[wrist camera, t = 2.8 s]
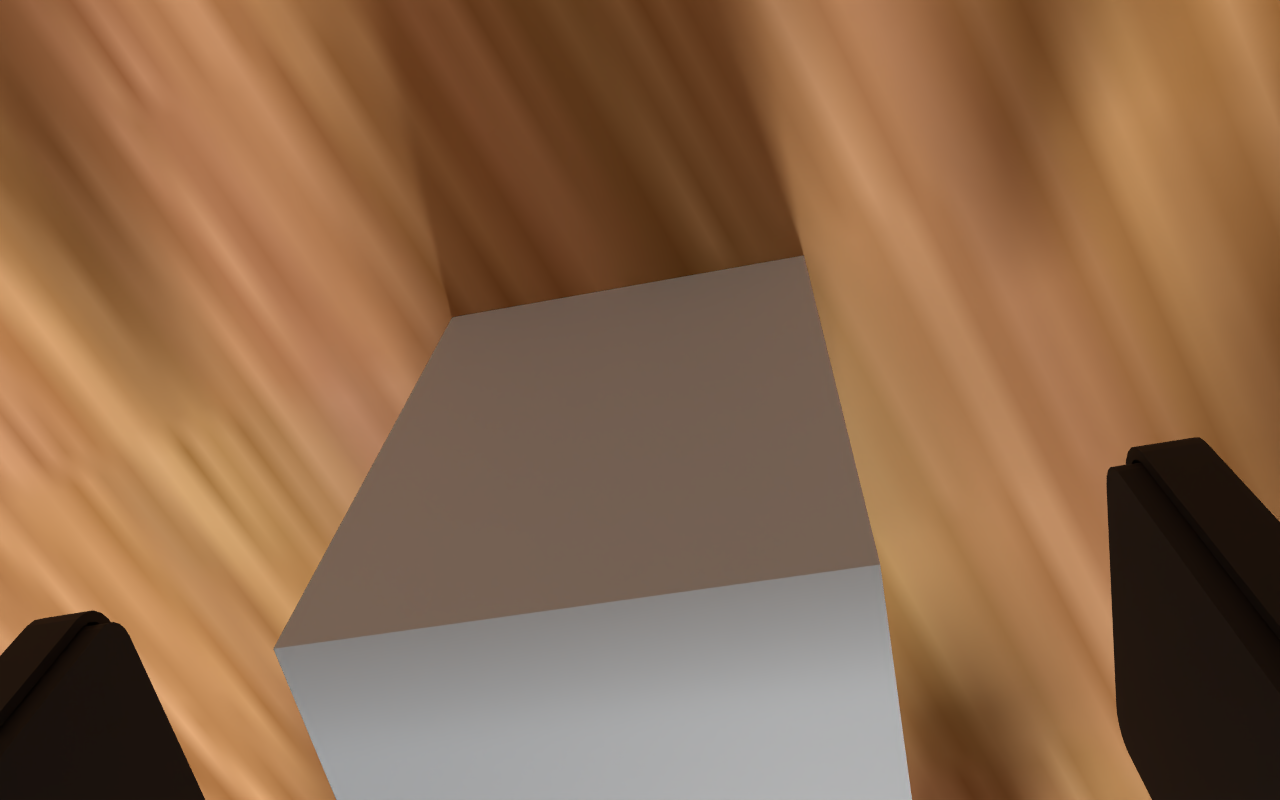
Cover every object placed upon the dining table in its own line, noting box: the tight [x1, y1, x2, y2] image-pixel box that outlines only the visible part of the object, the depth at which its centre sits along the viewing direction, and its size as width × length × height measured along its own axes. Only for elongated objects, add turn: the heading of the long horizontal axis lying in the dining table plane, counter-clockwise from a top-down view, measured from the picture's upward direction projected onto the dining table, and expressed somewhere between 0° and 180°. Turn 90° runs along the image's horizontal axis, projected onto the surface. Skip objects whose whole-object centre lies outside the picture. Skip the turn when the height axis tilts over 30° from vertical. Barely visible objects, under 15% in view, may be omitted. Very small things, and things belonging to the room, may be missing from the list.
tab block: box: [274, 255, 912, 800], centre depth 11 cm, size 4×4×6 cm
